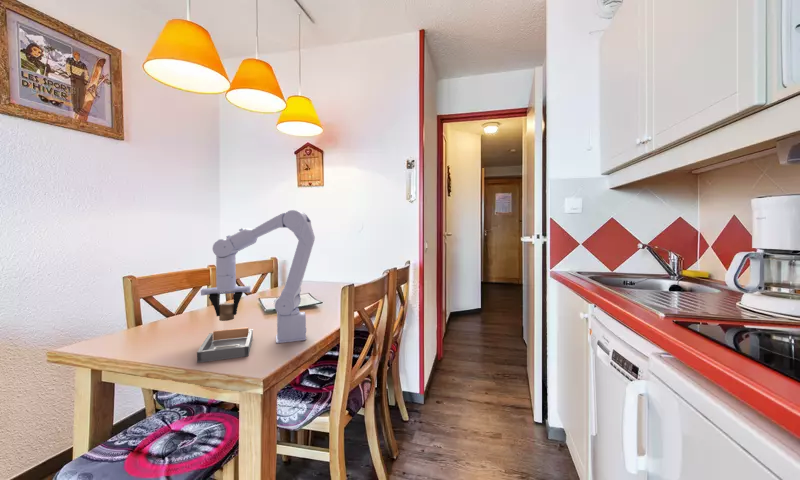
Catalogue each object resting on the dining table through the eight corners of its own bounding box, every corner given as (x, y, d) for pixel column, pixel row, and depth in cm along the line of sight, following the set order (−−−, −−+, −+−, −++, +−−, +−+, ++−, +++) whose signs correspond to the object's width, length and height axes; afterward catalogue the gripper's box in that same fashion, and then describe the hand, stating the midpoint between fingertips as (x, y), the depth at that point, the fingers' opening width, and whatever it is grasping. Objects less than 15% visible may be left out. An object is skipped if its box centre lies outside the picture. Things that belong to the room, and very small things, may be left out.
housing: (252, 337, 108) (252, 329, 108) (248, 356, 92) (248, 346, 92) (209, 342, 103) (209, 333, 103) (197, 362, 87) (197, 352, 87)
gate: (248, 335, 107) (248, 327, 107) (248, 336, 106) (248, 328, 106) (213, 339, 103) (213, 330, 103) (213, 340, 103) (213, 331, 102)
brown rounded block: (234, 316, 108) (234, 302, 108) (233, 320, 104) (233, 305, 104) (220, 317, 107) (220, 303, 107) (218, 321, 103) (217, 306, 103)
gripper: (251, 272, 111) (251, 310, 112) (204, 274, 106) (204, 313, 107) (249, 275, 105) (249, 315, 105) (199, 277, 100) (199, 319, 100)
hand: (226, 314), depth 106 cm, fingers closed on brown rounded block, 4 cm apart
